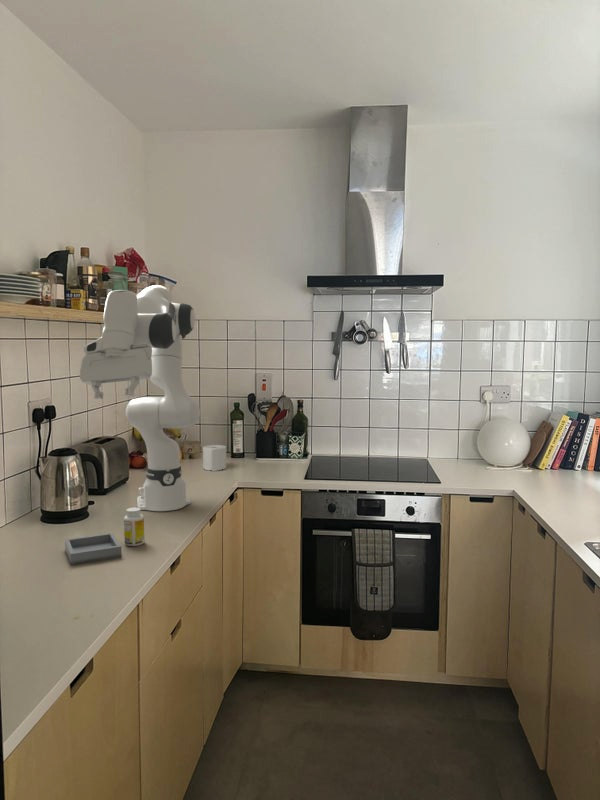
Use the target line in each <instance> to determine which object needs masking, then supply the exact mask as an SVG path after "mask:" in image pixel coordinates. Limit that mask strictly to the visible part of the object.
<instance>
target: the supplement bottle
mask: <svg viewBox="0 0 600 800" xmlns="http://www.w3.org/2000/svg"><path fill="white" fill-rule="evenodd" d="M144 518H145V517H144V515H143V514H142V510H141V509H140V508H138V507H130V508H126V515H125V516H123V531H124V535H123V536H124V544H125V545H126V546H128V547H138V546H141V545H143V544H144V543H145V519H144Z"/></svg>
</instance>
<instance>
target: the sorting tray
mask: <svg viewBox="0 0 600 800" xmlns="http://www.w3.org/2000/svg"><path fill="white" fill-rule="evenodd" d="M64 547H65V553H66V555H67V558H68V561H69V564H70V565H71V566H73V565H81V564H87V563H92V562H93V563H94V562H99V561H106V560H112V559H118V558H122V555H123V554H122V545H121V543H120V542H119V541H118V539H117V538H116V535H115V534H114V533H113V532H110V533H102V534H95V535H89V536H88V535H87V536H80V537H74V538H68V539H67V538H66V539H64Z"/></svg>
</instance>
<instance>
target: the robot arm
mask: <svg viewBox="0 0 600 800" xmlns="http://www.w3.org/2000/svg"><path fill="white" fill-rule="evenodd" d="M172 297H173V296H172V294H171V292H170V291H169V290H168V288H166V286H163V285H158V284H155V285H150V286H148V287H145V288H144V289H143V290H141V292H139V293H138V294H137V293H135V292H133V291H130V290H126V289H119V290H117V289H116V290H111V291H110V292H109V293H108V294H107V297H106V300H105V304H104V309H103V310H104V312H103V316H102V317H103V319H102V321H103V330H102V332H101V337H99V338H97V339H96V340H94V341H92V342H90V343H87V344H86V345H84V348H83V353H84V354H85V355H84V356H83V357H82V360H81V364H80V370H79V378H80V380H81V382H82V383H84V384H86V385H91V388H92V389H93V392H94V396H93V397H94V399H95V400H103V399H104V392H103V391H101V390H100V389H101V387H102V384H110V383H111V384H112V383H119V382H127V381H128V382H130V384H129V386H128V388H125V392H124V394H125V397H134V396H135V390H136V388H137V387H138V385H139V384H140V380H146V379H147V380H148V379H149V381H150V382H151V383H152V384H153V385H154V386H156V387H158V388H160V390H161V389H162V390H163V391H164V396H142V397H138V398H137V397H136V398H132V399H131V400H130V401H129V402H128V403H127V405H126V407H125V417H126V420H127V422H128V424H129V425H130V426H131V427H133V428H135V430H137V432H138V433H139V434H140V435H141V437H142V439H143V441H144V444H145V447H146V455H147V467H146V471H145V473H146V475H145V477H146V479H145V481H144V483H143V484H142V487H138V494H139V495H138V496H137V498H136V501H137V503H136V504H137V508H140V509H141V511H150V512H151V511H152V512H171V511H175V510H179V509H182V508H184V507H186V506H187V505H191V503H192V500H190V499H188V498H187V485H186V480H184V479H183V478H182V471H183V470H182V466H181V462H180V461H181V460H180V459H181V458H180V457H181V456H180V455H181V454H180V453H181V452H180V446H179V443H178V442H177V441H176V440H174V439H173V438H171V437H169V436H168V435H166V433H165V431H164V429H185V428H190V427H193V426H195V425H196V424H197V423H198V421H199V419H200V416H201V412H200V411H201V410H200V407H199V406H200V405H199V404H198V403H197V401H196V400H195V399H193V398H192V397H191V396H190V395H189V394H188V392H187V390H186V389H185V386H184V385H183V384H184V383H183V378H182V377H183V376H182V375H183V374H182V371H183V370H182V369H183V367H182V366H183V363H182V362H183V344H182V340H184V339H185V338H186V336H187V335H189V334H190V333H191V332H193V330H194V327H195V324H196V313H195V311H194V308H193V307H192V305H190V304H188V303H183V302H181V303H177V302H173V298H172Z"/></svg>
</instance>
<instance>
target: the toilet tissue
mask: <svg viewBox="0 0 600 800" xmlns="http://www.w3.org/2000/svg"><path fill="white" fill-rule="evenodd" d="M225 468H226V469H227V446H226V445H222V444H220V445H219V444H211V445H204V446H202V469H203V470H204V469H205V470H204V471H210V470H212V471H211V472H216V471H223V470H226V469H225ZM222 469H223V470H222Z"/></svg>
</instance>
